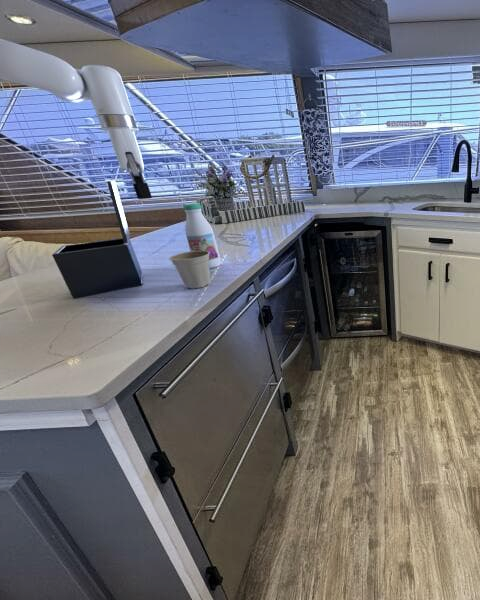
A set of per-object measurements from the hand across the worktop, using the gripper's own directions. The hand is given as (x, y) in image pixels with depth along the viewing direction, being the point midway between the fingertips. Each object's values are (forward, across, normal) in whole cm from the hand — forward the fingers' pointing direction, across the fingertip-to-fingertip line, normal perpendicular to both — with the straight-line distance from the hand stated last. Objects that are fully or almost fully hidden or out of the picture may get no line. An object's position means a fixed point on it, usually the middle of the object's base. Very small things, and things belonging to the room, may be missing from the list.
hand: (145, 198), depth 90 cm
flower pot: (+23, +17, +6) cm, 29 cm away
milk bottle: (+23, -2, +10) cm, 25 cm away
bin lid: (+3, 0, -7) cm, 7 cm away
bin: (+22, 0, -15) cm, 27 cm away
